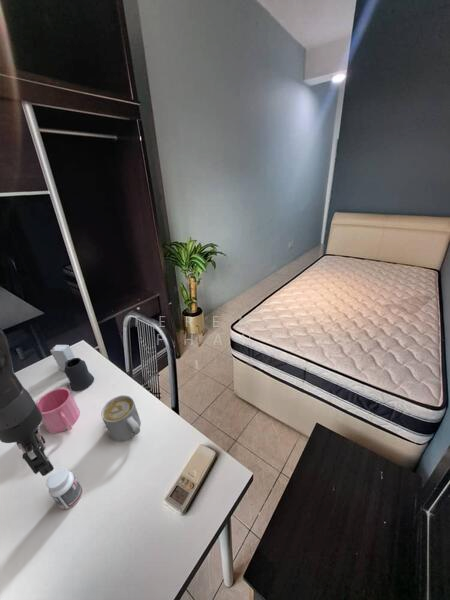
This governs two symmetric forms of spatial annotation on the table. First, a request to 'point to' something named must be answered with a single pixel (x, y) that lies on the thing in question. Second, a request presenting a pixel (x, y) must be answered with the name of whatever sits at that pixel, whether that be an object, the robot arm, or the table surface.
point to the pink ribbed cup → (58, 410)
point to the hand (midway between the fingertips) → (44, 457)
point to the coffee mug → (121, 418)
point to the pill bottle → (64, 488)
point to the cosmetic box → (62, 355)
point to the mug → (78, 374)
